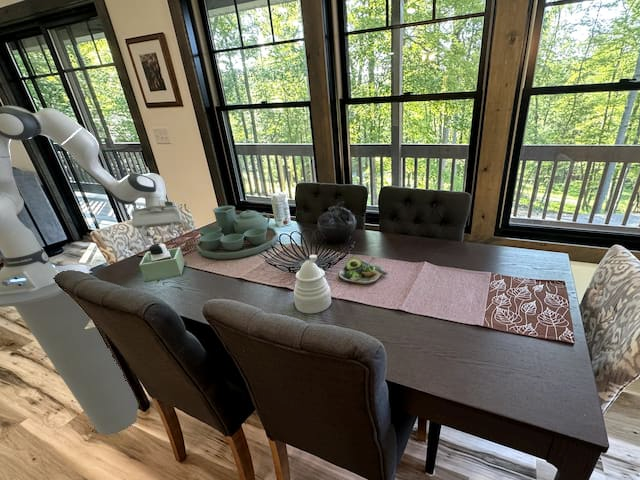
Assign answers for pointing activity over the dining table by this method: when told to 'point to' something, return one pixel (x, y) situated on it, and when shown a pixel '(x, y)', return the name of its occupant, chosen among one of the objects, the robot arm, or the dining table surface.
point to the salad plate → (361, 272)
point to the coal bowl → (337, 223)
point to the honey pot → (311, 288)
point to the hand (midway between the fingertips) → (159, 234)
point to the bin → (162, 266)
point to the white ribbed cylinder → (280, 209)
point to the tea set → (236, 234)
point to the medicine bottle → (159, 252)
